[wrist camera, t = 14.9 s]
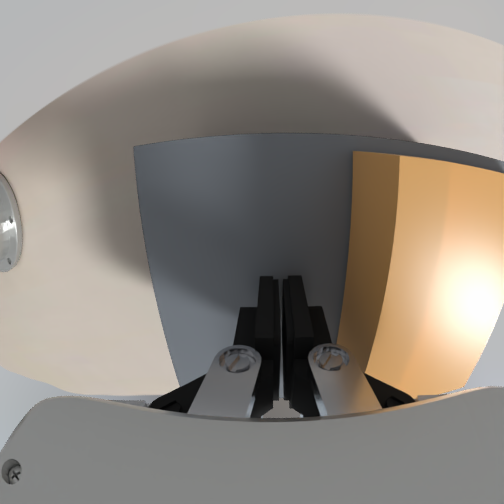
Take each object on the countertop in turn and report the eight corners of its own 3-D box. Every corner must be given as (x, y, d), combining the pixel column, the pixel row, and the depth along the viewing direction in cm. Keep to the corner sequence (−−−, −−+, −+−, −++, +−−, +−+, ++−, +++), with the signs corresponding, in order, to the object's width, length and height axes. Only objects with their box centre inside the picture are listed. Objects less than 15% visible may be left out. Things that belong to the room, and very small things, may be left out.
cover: (326, 392, 14) (335, 450, 10) (352, 150, 9) (399, 155, 6) (454, 370, 13) (478, 413, 9) (508, 174, 9) (564, 192, 5)
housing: (210, 309, 24) (181, 392, 15) (194, 144, 19) (133, 146, 10) (405, 303, 22) (451, 374, 13) (424, 149, 17) (508, 162, 8)
